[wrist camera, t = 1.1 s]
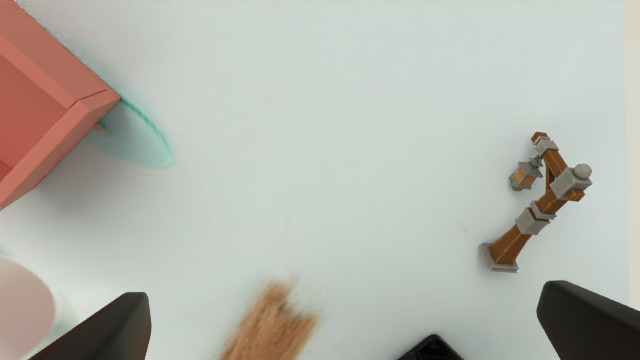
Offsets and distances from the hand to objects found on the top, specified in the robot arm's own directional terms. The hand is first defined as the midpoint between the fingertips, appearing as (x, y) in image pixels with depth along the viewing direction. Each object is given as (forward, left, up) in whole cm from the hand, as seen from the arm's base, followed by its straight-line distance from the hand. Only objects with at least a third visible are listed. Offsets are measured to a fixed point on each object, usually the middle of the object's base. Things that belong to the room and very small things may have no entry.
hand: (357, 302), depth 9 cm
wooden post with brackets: (-11, -6, -13) cm, 18 cm away
